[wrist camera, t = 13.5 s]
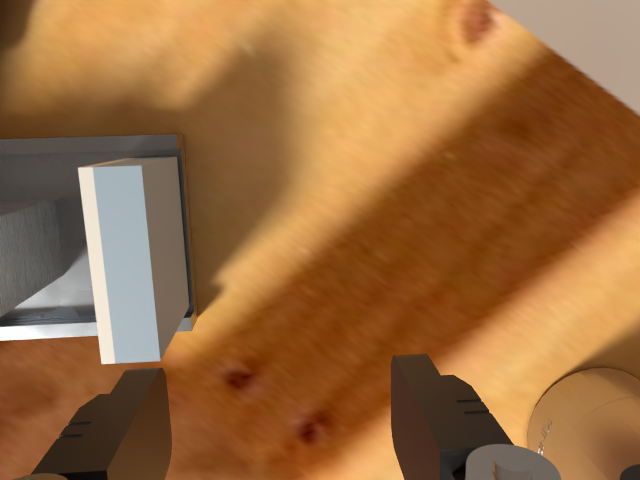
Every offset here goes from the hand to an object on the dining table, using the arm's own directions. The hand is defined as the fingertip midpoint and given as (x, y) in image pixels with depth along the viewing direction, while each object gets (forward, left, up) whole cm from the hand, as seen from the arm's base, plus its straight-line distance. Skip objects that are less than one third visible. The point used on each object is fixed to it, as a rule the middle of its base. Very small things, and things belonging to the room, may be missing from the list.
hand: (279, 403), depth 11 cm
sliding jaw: (+7, 0, -20) cm, 21 cm away
